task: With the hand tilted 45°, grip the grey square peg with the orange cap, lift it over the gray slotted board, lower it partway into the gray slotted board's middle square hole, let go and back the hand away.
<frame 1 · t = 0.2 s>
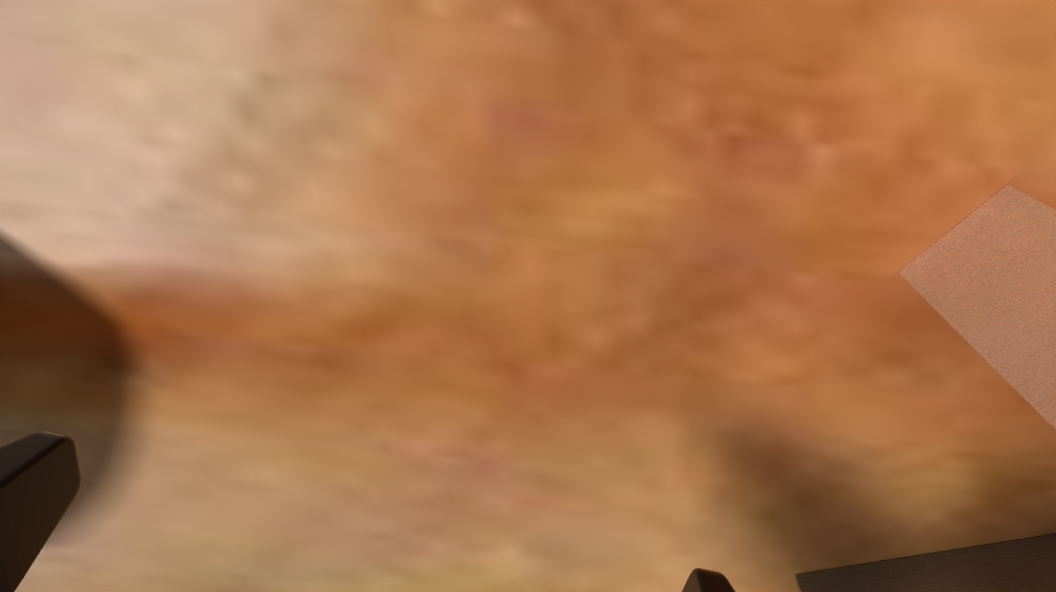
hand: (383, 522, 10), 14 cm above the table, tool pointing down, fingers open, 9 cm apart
grey square peg: (988, 267, 22), on the table
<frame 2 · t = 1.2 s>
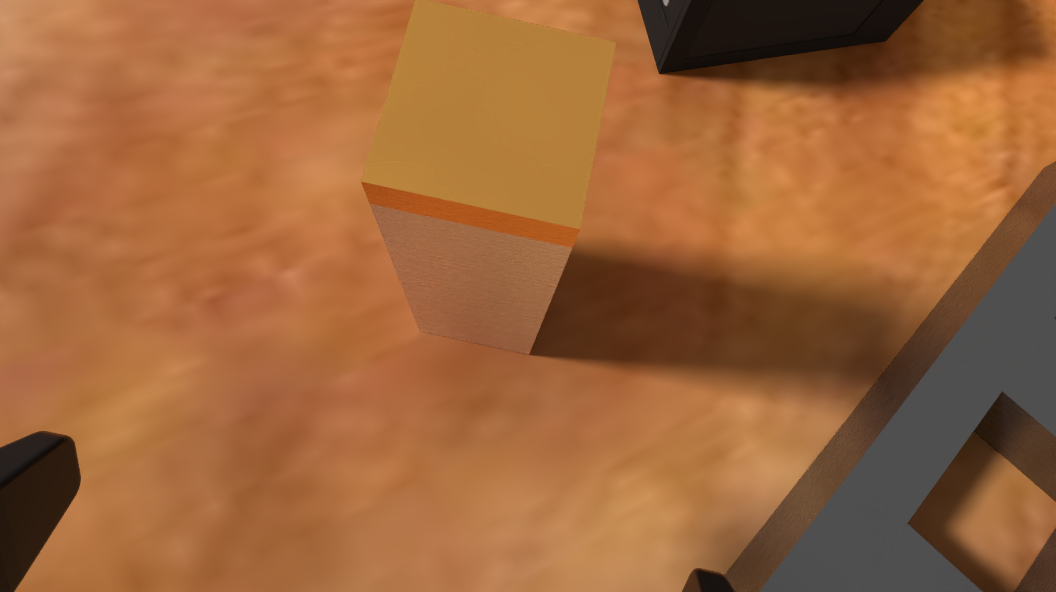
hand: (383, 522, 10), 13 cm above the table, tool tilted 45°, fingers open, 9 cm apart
digital camera: (754, 7, 29), on the table
grey square peg: (486, 290, 25), on the table
gray slotted board: (961, 514, 24), on the table
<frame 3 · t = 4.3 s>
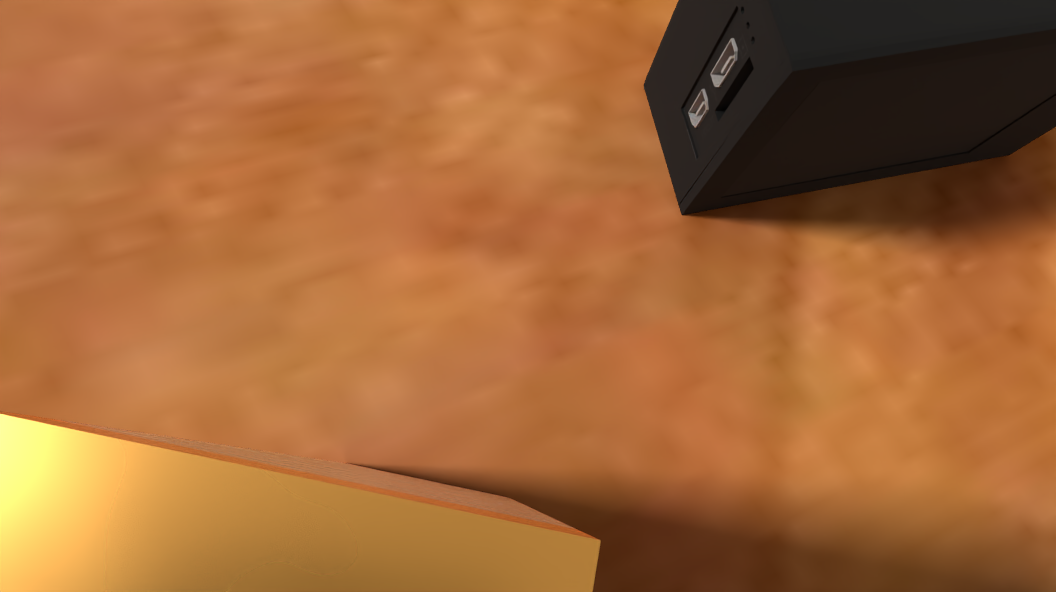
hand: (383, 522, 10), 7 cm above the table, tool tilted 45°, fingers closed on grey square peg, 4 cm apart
digital camera: (817, 105, 20), on the table
grey square peg: (406, 567, 16), on the table, touching gripper
when the fingers open (7 cm above the table, at t = 9.7 s): grey square peg stays where it is, resting in gray slotted board.
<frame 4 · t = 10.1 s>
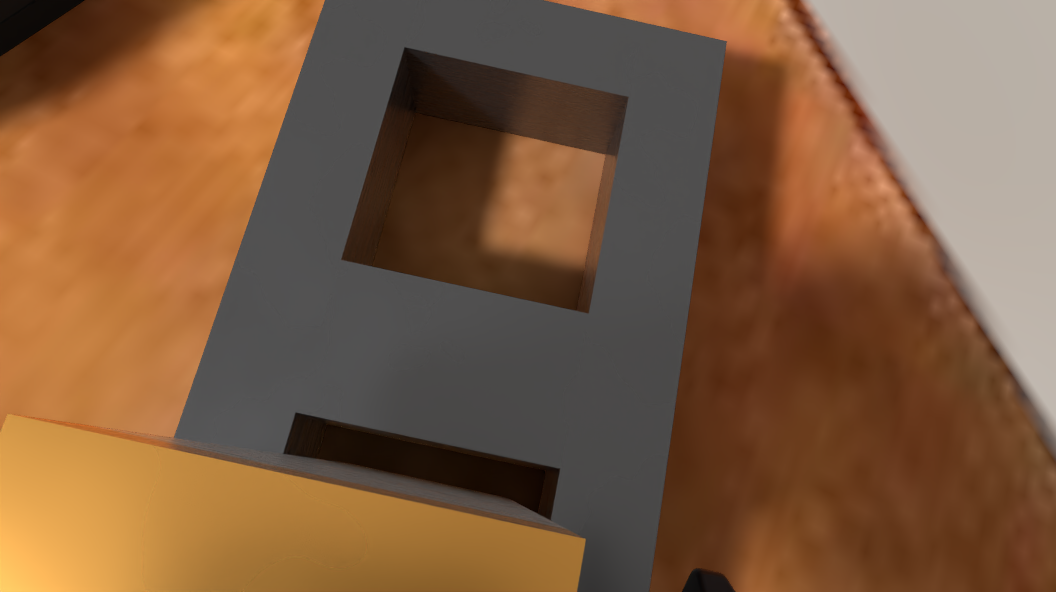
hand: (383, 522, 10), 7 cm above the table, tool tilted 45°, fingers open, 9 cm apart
grey square peg: (407, 565, 16), resting in gray slotted board
gray slotted board: (408, 565, 16), on the table
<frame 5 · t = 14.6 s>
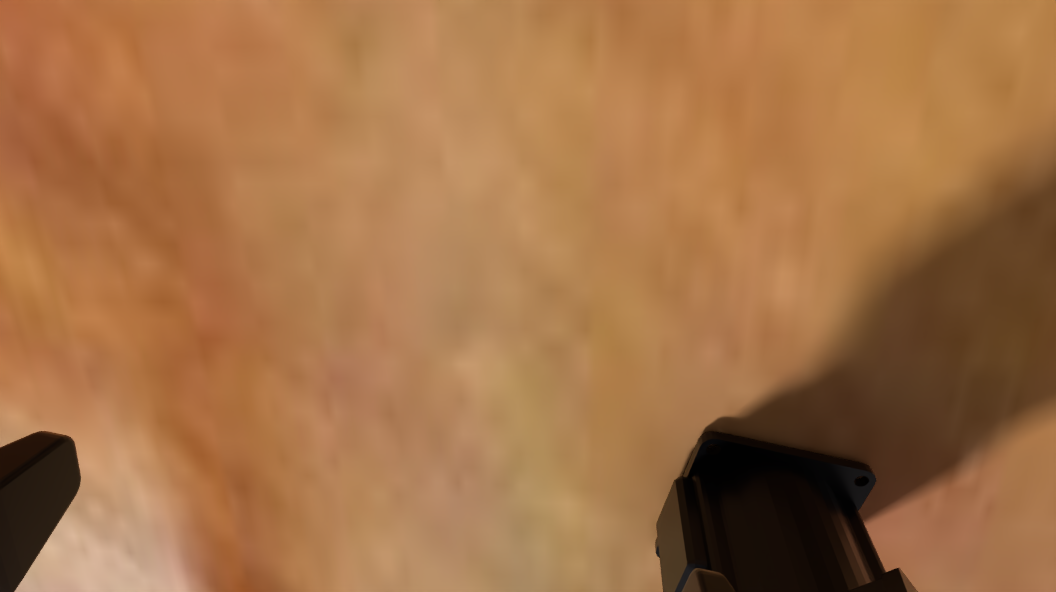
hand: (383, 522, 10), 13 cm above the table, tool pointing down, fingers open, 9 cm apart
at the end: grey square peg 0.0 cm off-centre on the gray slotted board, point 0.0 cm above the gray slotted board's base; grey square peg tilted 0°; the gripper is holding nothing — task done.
